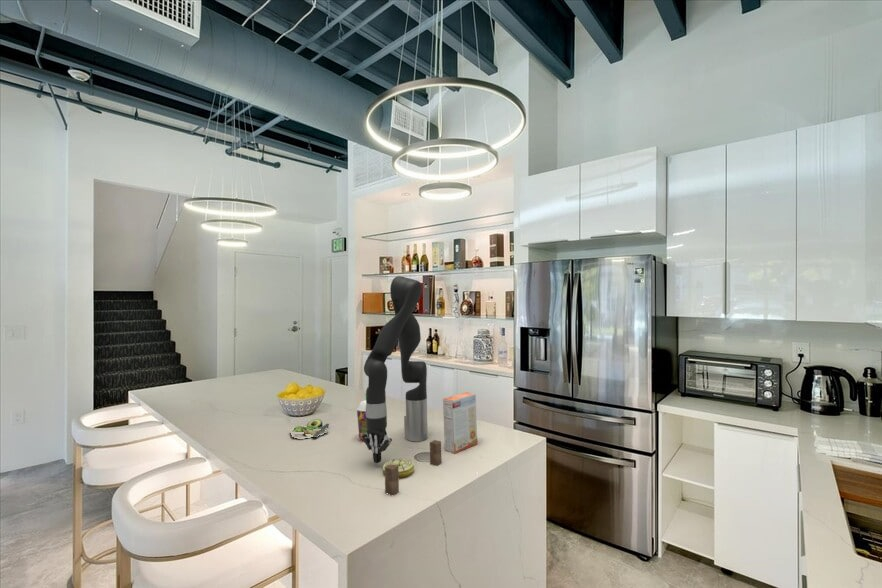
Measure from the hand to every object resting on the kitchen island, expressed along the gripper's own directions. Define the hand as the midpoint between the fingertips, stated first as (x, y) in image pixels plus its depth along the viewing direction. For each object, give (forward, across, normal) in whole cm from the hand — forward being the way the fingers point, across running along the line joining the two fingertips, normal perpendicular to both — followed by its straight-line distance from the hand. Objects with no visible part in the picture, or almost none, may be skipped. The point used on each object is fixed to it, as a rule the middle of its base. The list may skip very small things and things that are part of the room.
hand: (377, 462), depth 145 cm
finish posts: (+2, -17, 0) cm, 17 cm away
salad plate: (+2, +53, -13) cm, 54 cm away
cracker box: (+2, -17, -31) cm, 36 cm away
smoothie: (+2, +23, -19) cm, 30 cm away
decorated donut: (+2, -10, 0) cm, 10 cm away
